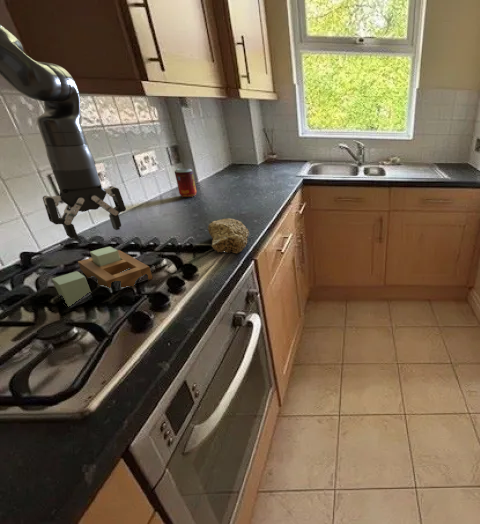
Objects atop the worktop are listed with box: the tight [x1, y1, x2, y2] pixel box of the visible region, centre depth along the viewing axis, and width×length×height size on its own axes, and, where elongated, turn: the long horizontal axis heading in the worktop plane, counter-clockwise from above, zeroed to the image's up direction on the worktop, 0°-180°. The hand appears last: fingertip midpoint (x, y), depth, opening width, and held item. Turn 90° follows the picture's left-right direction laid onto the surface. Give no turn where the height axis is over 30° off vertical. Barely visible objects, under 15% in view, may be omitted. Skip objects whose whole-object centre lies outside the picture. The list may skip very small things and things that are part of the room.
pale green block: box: [51, 270, 92, 308], centre depth 72 cm, size 4×4×6 cm
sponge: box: [207, 217, 250, 254], centre depth 103 cm, size 13×8×20 cm
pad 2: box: [89, 246, 121, 267], centre depth 84 cm, size 4×4×6 cm
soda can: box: [174, 167, 198, 198], centre depth 148 cm, size 7×7×12 cm
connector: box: [77, 249, 153, 288], centre depth 83 cm, size 9×16×4 cm, turn 56°
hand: (96, 233), depth 80 cm, fingers open, 8 cm apart
